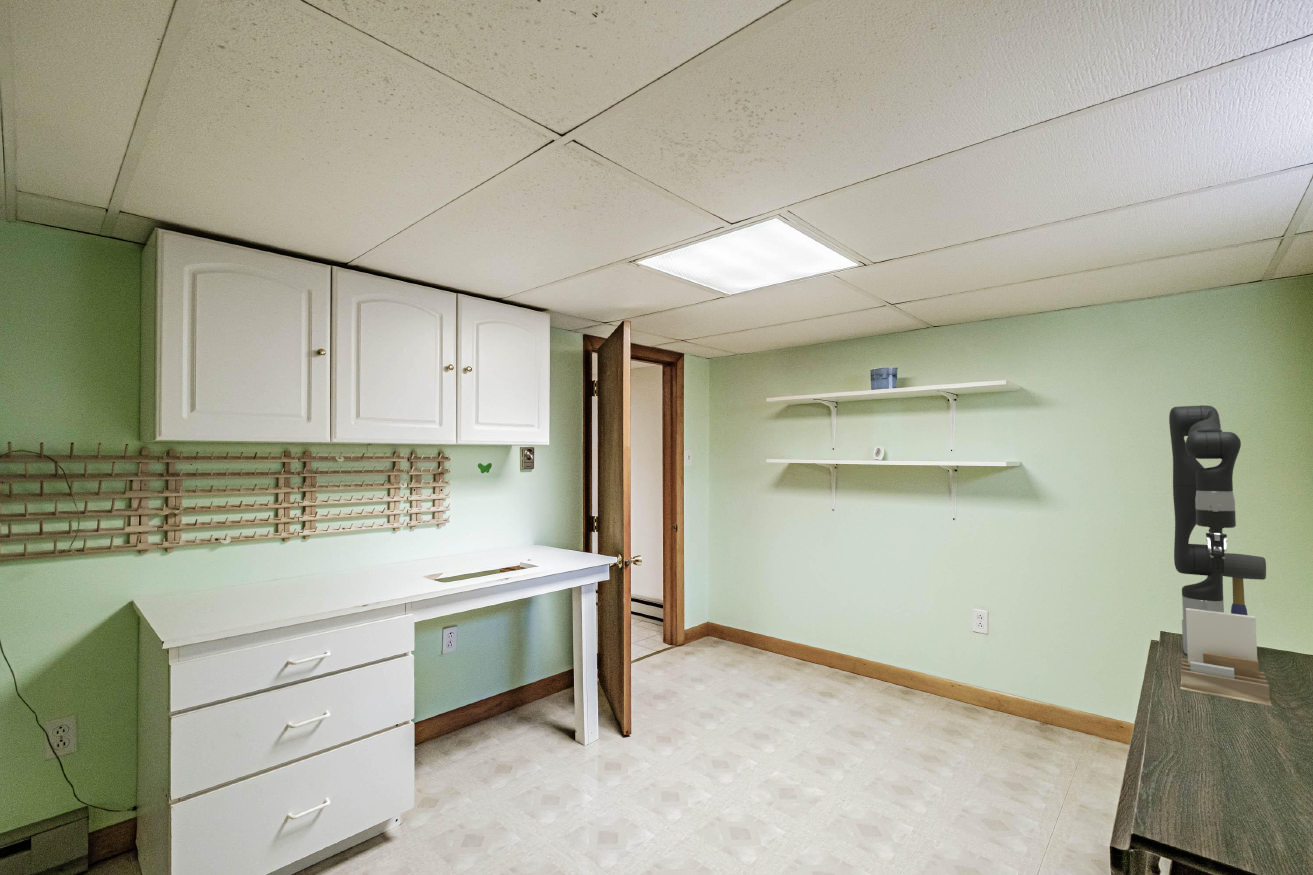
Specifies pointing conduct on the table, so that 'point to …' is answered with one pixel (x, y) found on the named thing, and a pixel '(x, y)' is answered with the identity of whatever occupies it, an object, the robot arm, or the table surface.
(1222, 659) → the offcut oak
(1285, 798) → the table surface
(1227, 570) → the rubber mallet
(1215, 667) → the offcut grey
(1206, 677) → the rack
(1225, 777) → the table surface
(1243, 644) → the sheet
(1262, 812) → the table surface
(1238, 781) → the table surface
